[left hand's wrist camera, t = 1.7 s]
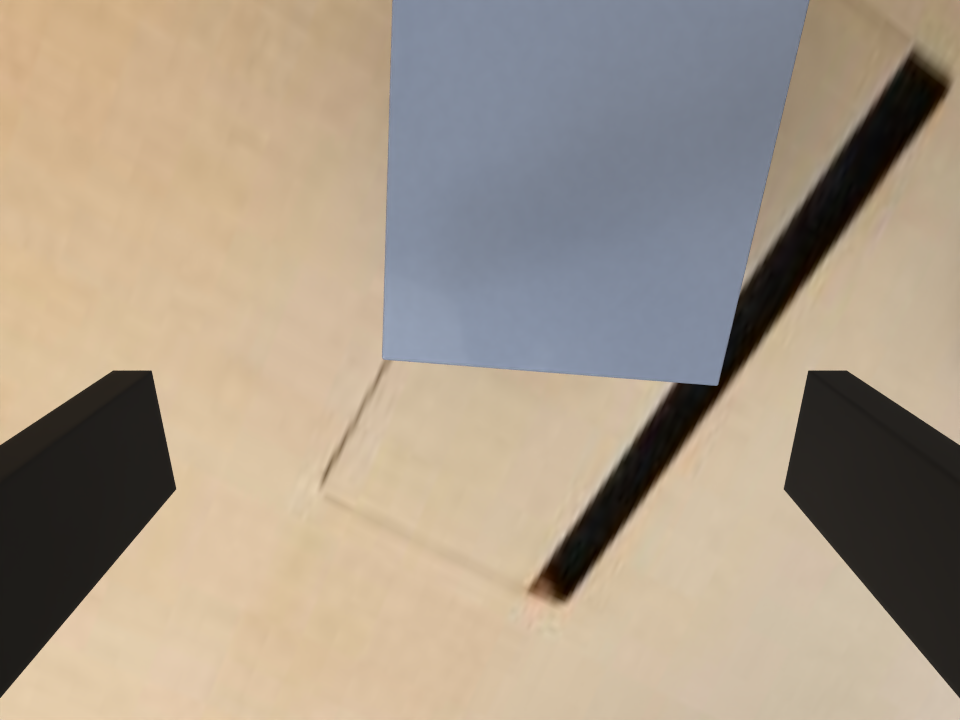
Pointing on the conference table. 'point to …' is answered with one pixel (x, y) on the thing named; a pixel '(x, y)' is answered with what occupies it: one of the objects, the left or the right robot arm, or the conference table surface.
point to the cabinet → (578, 179)
